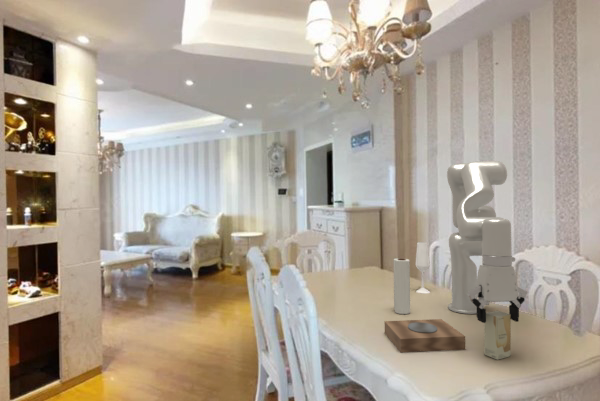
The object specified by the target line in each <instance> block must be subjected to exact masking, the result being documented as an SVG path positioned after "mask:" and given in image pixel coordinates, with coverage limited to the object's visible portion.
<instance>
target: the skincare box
mask: <svg viewBox="0 0 600 401" xmlns="http://www.w3.org/2000/svg"><path fill="white" fill-rule="evenodd" d="M483 324H484V325H483V326H484V329H483V331H484V332H483V335H484V336H483V337H484V338H483V339H484V340H483V341H484V343H483V344H484V345H483V346H484V352H483V353H484V355H485V356H487V357H489V358H492V359H495V360H497V361H498V360H501V359H506V358H508V357H511V355H512V354H511V353H512V351H511V340H512V339H511V337H512V336H511V326H512V325H511V314H509V312H508V313H507V312H504V311H501V310H495V311H488V312H486V322H485V323H483Z"/></svg>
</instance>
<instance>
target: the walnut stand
mask: <svg viewBox="0 0 600 401" xmlns="http://www.w3.org/2000/svg"><path fill="white" fill-rule="evenodd" d="M384 334H385V335H386V336H387V338H388V339H389V340H390V341H391V342H392V344H393V345H394V346H395V347H396V349H398V351H399V352H400V353H411V352H412V353H415V352H438V351H461V350H467V349H466V335H464V334H463V333H461V331H458V329H456V328H455V327H453V326H452V325H450V324H449V323H447V322H446V321H445V320H443V319H441V318H437V319H434V318H433V319H432V318H431V319H430V318H429V319H411V320H410V319H409V320H408V319H405V320H385V321H384Z"/></svg>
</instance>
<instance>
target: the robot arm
mask: <svg viewBox="0 0 600 401" xmlns="http://www.w3.org/2000/svg"><path fill="white" fill-rule="evenodd" d="M446 173H447V174H446V177H447V182H448V185H449V188H450V191H451V194H452V195H451V196H452V223H453V226H454V227H455V228H457V230H458V232H457V231H456V232H454V233H452V234H450V236H449V238H448V247H449V252H450V265H451V267H450V268H451V271H450V272H451V302H450V303H449V304H447V309H448V310H450V311H452V312H455V313H459V314H467V315H476V318H477V321H479V322H481V323H483V324H484V323H485V322H486V313H487V310H486V308H485V306H489V305H490V303H498V302H499V303H500V302H501V303H505V302H507V303H509V306H508V310H509V312H508V314H511V320H512V321H514V322H516V323H517V322H519V317H520V308H521V306H522V304H523V303H524V302H525V300H526V299H525V298H527V295H528V291H526V290H525V289H524V288H521V287H520V286H518V281H517V274H516V270H515V267H514V266H513V262H516V257H515V256H512V252H513V250H512V224H511V221H510V220H508V219H507V218H503V217H498V216H497V213H496V210H495V209H494V207H493V206H491V205H490V206H489V205H488V204H490V203H491V201H493V200H494V197H495V192H494V189H493V185H494V186H501V185H503V184H504V183H506V181H507V178H508V171H507V167H506V165H505V164H504V163H503V162H502V161H500V160H485V161H483V160H482V161H481V160H480V161H469V162H466V163H454V164H452V165H450V166H448V168H447V172H446ZM479 256H480V257H481V260H482V261H481V263H482V264H479V266H478V268H477V265H476V263H475V262H474V261H473V260H472V259H471V257H479Z"/></svg>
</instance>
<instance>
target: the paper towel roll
mask: <svg viewBox="0 0 600 401" xmlns="http://www.w3.org/2000/svg"><path fill="white" fill-rule="evenodd" d="M410 269H411V266H410V259H408V258H400V257H399V258H397V257H394V258H393V308H394V313H396V314H399V315H408V314H411V278H410V276H411V272H410V271H411V270H410Z"/></svg>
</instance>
